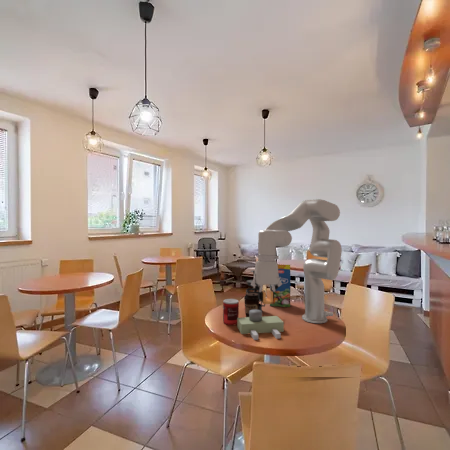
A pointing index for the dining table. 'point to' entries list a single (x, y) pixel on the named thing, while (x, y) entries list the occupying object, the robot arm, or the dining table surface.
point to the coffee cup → (251, 302)
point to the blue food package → (282, 287)
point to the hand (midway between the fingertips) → (266, 300)
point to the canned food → (230, 311)
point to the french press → (254, 290)
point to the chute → (269, 297)
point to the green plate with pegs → (260, 324)
